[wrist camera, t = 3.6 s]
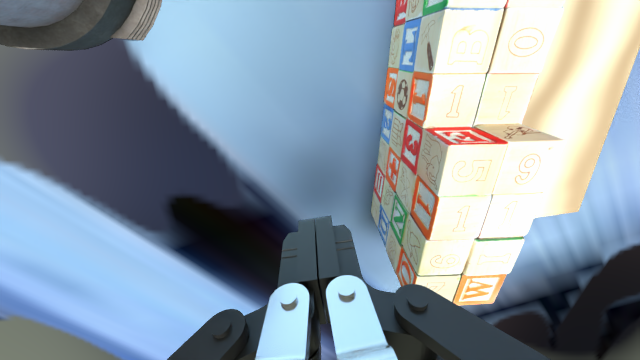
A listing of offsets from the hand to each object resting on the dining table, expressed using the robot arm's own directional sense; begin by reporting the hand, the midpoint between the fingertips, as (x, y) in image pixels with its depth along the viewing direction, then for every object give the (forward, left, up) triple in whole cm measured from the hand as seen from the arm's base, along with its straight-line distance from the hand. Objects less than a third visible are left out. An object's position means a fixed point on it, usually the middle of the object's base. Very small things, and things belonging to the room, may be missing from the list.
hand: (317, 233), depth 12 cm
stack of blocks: (-10, -1, -15) cm, 18 cm away
